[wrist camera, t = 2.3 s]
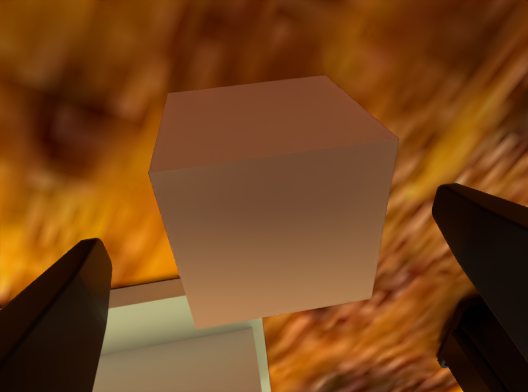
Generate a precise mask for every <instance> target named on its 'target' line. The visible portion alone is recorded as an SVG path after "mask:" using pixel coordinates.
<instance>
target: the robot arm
mask: <svg viewBox="0 0 528 392" xmlns="http://www.w3.org/2000/svg"><path fill="white" fill-rule="evenodd" d="M432 215H433V218H434V220H435V222H436V223H437V225H438V227H439V229H440V231H441V233H442V234H443V236H444V238H445V240H446V242H447V243H448V245H449V247H450V249H451V251H452V253H453V254H454V256H455V258H456V259H457V261H458V263H459V264H460V266H461V267H462V269H463V270H464V272H465V273H466V275H467V276H468V278H469V279H470V280H471V282H472V283H473V285H474V286H475V288H476V289H477V290H478V292H479V293H480V295H481V296H482V297H480V298H475V299H469V300H466V301H464V302H463V303H462V304H460V306H459V308H458V310H457V313H456V315H455V318H454V320H453V323H452V325H451V327H450V330H449V332H448V335H447V337H446V340H445V342H444V345H443V347H442V350H441V352H440V354H439V357H438V360H437V361H438V362H439V364H440V366H441V367H442V368H447V367H449V369H450V371H451V372H452V374H453V376H454V377H455V379H456V380H457V382H458V384H459V385H460V387H461V388H462V390H463V392H528V207H525V206H522V205H519V204H516V203H513V202H511V201H508V200H505V199H502V198H499V197H496V196H493V195H490V194H487V193H484V192H481V191H478V190H475V189H472V188H470V187H467V186H464V185H461V184H458V183H449V184H442V185H440V186H439V187H438V188H437V191H436V195H435V199H434V203H433V207H432ZM111 278H112V263H111V260H110V257H109V255H108V253H107V251H106V249H105V247H104V244H103V242H102V241H101V240H100V239H99V238H91V239H85V240H81V241H80V242H79V243H77V244H76V245H75V246H74V247H73V248H72V249H70V250H69V251H68V252H67V253H66V254H65V255H63V256H62V257H61V258H60V259H59V260H58V261H56V262H55V263H54V264H53V265H52V266H51V267H49V268H48V269H47V270H46V271H45V272H44V273H43V274H41V275H40V276H39V277H38V278H37V279H36V280H34V281H33V282H32V283H31V284H30V285H29V286H27V287H26V288H25V289H24V290H23V291H22V292H20V293H19V294H18V295H17V296H16V297H15V298H13V299H12V300H11V301H10V302H9V303H8V304H6V305H5V306H4V307H3V308H2V309H1V310H0V392H92V391H93V387H94V382H95V378H96V373H97V368H98V364H99V359H100V355H101V350H102V346H103V341H104V336H105V331H106V326H107V319H108V310H109V299H110V288H111Z"/></svg>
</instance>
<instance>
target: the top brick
mask: <svg viewBox="0 0 528 392" xmlns="http://www.w3.org/2000/svg"><path fill="white" fill-rule="evenodd" d="M398 142H399V138H398V137H396V136H395V135H394V134H393V133H392V132H391V131H389V130H388V129H387V128H386V127H385V126H384V125H383V124H381V123H380V122H379V121H378V120H377V119H376V118H374V117H373V116H372V115H371V114H370V113H369V112H367V111H366V110H365V109H364V108H363V107H362V106H361V105H359V104H358V103H357V102H356V101H355V100H354V99H352V98H351V97H350V96H349V95H348V94H347V93H346V92H344V91H343V90H342V89H341V88H340V87H339V86H337V85H336V84H335V83H334V82H333V81H332V80H330V79H329V78H328V77H327V76H326V75H321V76H312V77H303V78H295V79H286V80H277V81H269V82H260V83H252V84H243V85H234V86H226V87H217V88H209V89H200V90H191V91H183V92H174V93H168V96H167V100H166V104H165V108H164V112H163V116H162V120H161V124H160V128H159V132H158V136H157V140H156V144H155V148H154V152H153V156H152V160H151V164H150V168H149V172H148V174H149V177H150V180H151V183H152V187H153V190H154V193H155V197H156V200H157V203H158V206H159V210H160V213H161V216H162V219H163V223H164V226H165V229H166V232H167V236H168V239H169V242H170V245H171V249H172V252H173V255H174V258H175V262H176V265H177V268H178V272H179V275H180V278H181V281H182V285H183V288H184V291H185V294H186V298H187V301H188V304H189V307H190V311H191V314H192V317H193V320H194V324H195V327H196V330H198V329H203V328H209V327H214V326H220V325H225V324H231V323H237V322H242V321H248V320H253V319H259V318H265V317H270V316H276V315H281V314H287V313H293V312H298V311H304V310H309V309H315V308H321V307H326V306H332V305H337V304H343V303H348V302H354V301H360V300H365V299H371V297H372V291H373V286H374V280H375V274H376V268H377V263H378V257H379V251H380V245H381V240H382V234H383V228H384V223H385V217H386V211H387V205H388V200H389V194H390V188H391V182H392V177H393V171H394V165H395V159H396V154H397V148H398Z"/></svg>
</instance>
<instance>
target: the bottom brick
mask: <svg viewBox="0 0 528 392" xmlns="http://www.w3.org/2000/svg"><path fill="white" fill-rule="evenodd" d="M92 392H262V388H261V381H260V375H259V368H258V361H257V355H256V348H255V341H254V335H253V328H247V329H242V330H236V331H231V332H226V333H220V334H215V335H209V336H204V337H198V338H193V339H188V340H182V341H177V342H171V343H166V344H160V345H155V346H149V347H144V348H139V349H133V350H128V351H122V352H117V353H111V354H106V355H101V356H100V359H99V364H98V368H97V373H96V378H95V382H94V387H93V391H92Z"/></svg>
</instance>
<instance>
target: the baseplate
mask: <svg viewBox="0 0 528 392" xmlns="http://www.w3.org/2000/svg"><path fill="white" fill-rule="evenodd" d="M1 309H2V308H0V310H1ZM247 328H253V335H254V341H255V348H256V355H257V361H258V368H259V375H260V381H261V388H262V392H271V389H270V381H269V372H268V364H267V356H266V347H265V339H264V331H263V322H262V318H259V319H253V320H248V321H242V322H237V323H231V324H225V325H220V326H214V327H209V328H203V329H198V330H196V327H195V324H194V320H193V317H192V314H191V311H190V307H189V304H188V301H187V298H186V294H185V291H184V288H183V285H182V281H181V278H179V279H173V280H167V281H161V282H155V283H149V284H144V285H138V286H132V287H126V288H120V289H114V290H110V299H109V310H108V319H107V326H106V331H105V336H104V341H103V346H102V350H101V355H106V354H111V353H117V352H122V351H128V350H133V349H139V348H144V347H149V346H155V345H160V344H166V343H171V342H177V341H182V340H188V339H193V338H198V337H204V336H209V335H215V334H220V333H226V332H231V331H236V330H242V329H247ZM101 355H100V356H101Z"/></svg>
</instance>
